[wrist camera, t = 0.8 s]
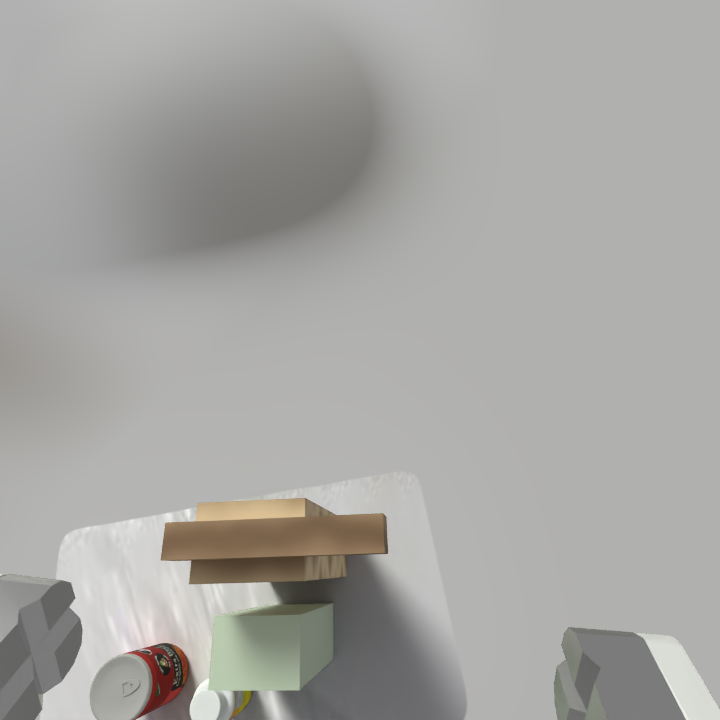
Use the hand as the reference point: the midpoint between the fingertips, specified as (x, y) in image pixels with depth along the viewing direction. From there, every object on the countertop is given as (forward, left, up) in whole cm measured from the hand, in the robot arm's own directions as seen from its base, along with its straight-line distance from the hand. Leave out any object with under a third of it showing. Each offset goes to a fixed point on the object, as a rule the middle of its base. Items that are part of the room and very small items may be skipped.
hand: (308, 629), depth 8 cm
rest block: (-7, +18, -69) cm, 71 cm away
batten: (+4, +13, -43) cm, 45 cm away
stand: (+4, +17, -69) cm, 71 cm away
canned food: (-12, +38, -69) cm, 79 cm away
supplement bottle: (-14, +27, -69) cm, 75 cm away
